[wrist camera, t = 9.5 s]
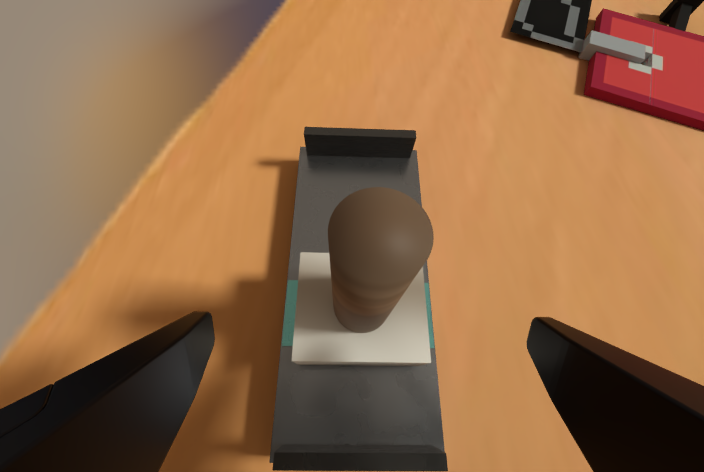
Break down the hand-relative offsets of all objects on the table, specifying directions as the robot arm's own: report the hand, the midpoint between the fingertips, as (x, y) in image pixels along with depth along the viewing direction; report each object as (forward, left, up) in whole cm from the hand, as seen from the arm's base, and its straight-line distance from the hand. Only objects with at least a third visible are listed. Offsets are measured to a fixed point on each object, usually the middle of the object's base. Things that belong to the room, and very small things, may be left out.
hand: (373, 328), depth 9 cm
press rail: (+4, +2, -10) cm, 11 cm away
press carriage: (+2, +1, -8) cm, 8 cm away
